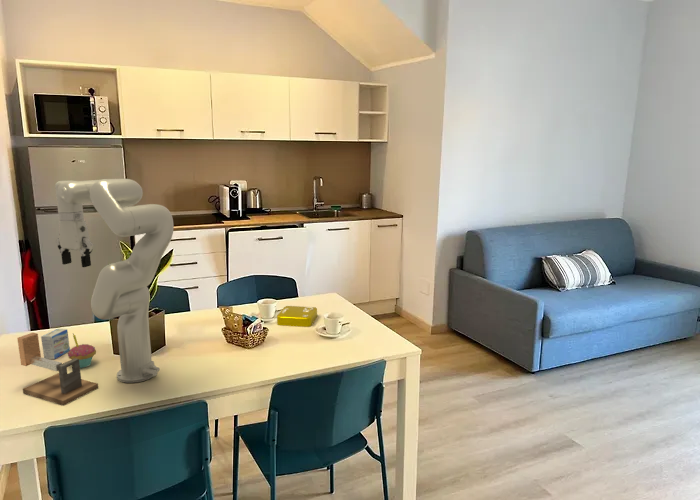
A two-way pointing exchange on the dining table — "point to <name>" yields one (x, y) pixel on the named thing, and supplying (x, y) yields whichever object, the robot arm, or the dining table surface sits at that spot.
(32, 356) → the tan grey angled piece
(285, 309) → the element tile
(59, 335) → the medicine box
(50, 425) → the dining table surface
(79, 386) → the eye board
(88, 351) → the cupcake
